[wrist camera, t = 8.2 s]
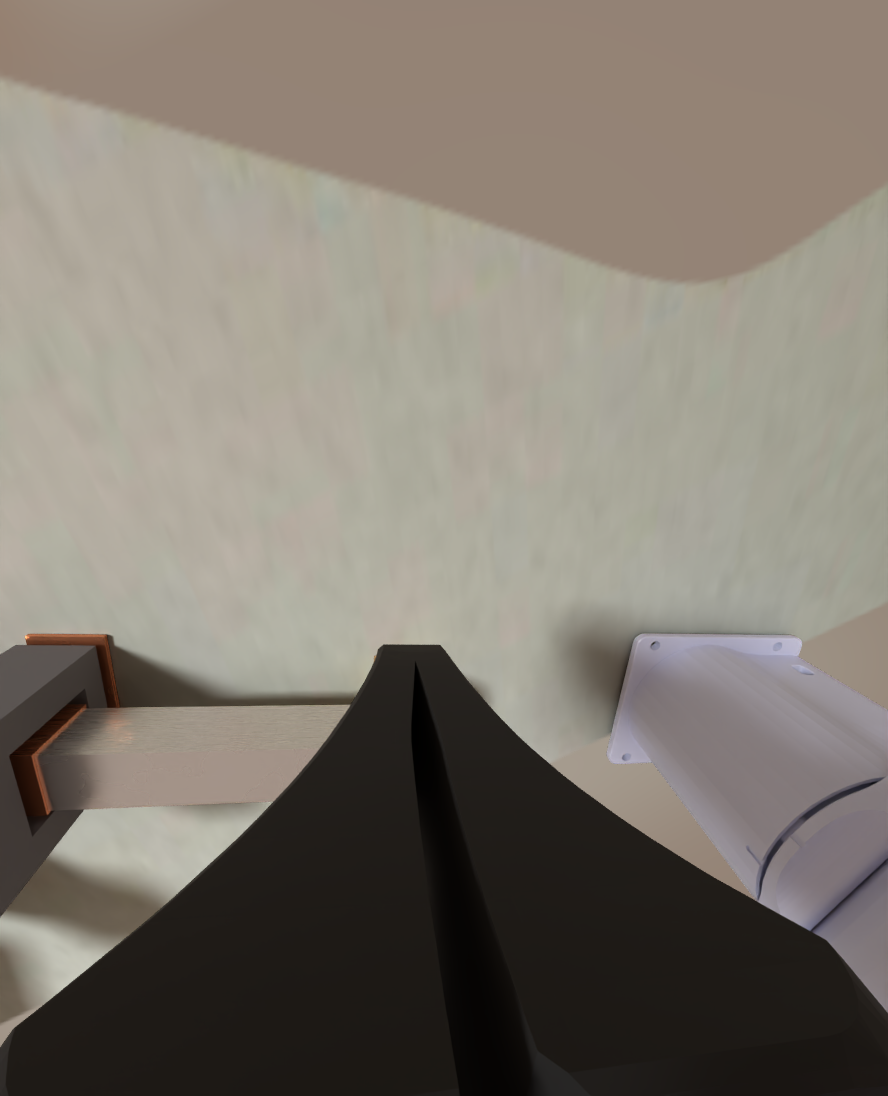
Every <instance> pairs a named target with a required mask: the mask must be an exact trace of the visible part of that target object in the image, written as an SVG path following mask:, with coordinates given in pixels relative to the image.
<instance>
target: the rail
mask: <svg viewBox="0 0 888 1096" xmlns="http://www.w3.org/2000/svg"><path fill="white" fill-rule="evenodd" d="M25 639H26V643H27V645H84V646H96V651H97V656H98V661H99V666H100V671H101V676H102V681H103V687H104V692H105V697H106V702H107V707H108V708H86V704H79V705H66V706H64V707H63V708H62V709H61V710H60V711H59V712H58V713H57V714H55V715H54V716H53V717H52V718H51V719H50V720H49V721H48V722H46V723H45V724H44V725H43V726H42V727H41V728H40V729H39V730H37V731H36V732H35V733H34V734H33V735H32V736H31V737H30V738H28V739H27V740H26V741H25V742H24V743H23V744H22V745H21V746H19V747H18V748H17V749H16V750H15V751H14V752H13V753H12V754H10V755H9V758H10V761H11V765H12V768H13V772H14V775H15V779H16V782H17V786H18V789H19V792H20V796H21V799H22V803H23V806H24V810H25V813H26V816H46V815H48V814H49V813H50V812H51V811H57V810H81V809H104V808H128V807H151V806H174V805H198V804H221V803H245V802H268V801H275V800H276V798H277V797H278V796H279V795H280V794H281V793H282V792H283V791H284V790H285V789H286V788H287V787H288V786H289V784H290V783H291V782H292V781H293V780H294V779H295V778H296V777H297V775H298V774H299V773H300V772H301V771H302V769H303V768H304V767H305V766H306V765H307V764H308V762H309V761H310V760H311V759H312V757H313V756H314V755H315V754H316V753H317V751H318V750H319V749H320V747H321V746H322V745H323V743H324V742H325V741H326V740H327V738H328V737H329V736H330V734H331V733H332V731H333V730H334V728H335V727H336V726H337V724H338V723H339V721H340V720H341V718H342V717H343V715H344V714H345V713H346V711H347V710H348V708H349V707H350V705H292V706H213V707H134V708H120V705H119V699H118V694H117V688H116V683H115V678H114V672H113V667H112V661H111V656H110V650H109V645H108V639H107V635H89V634H28V635H26V636H25ZM375 658H376V656H374V661H375Z"/></svg>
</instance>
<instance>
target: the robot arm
mask: <svg viewBox="0 0 888 1096" xmlns="http://www.w3.org/2000/svg"><path fill="white" fill-rule="evenodd" d="M655 641H656V642H655ZM653 642H655V644H654V645H652V646H651V644H652V643H653ZM801 647H802V641H801V640H800V639H799V638H797V637H796V636H793V635H741V634H654V633H644V634H640V635H638V636H637V637H636V638H635V639H634V642H633V645H632V649H631V654H630V658H629V662H628V666H627V670H626V674H625V678H624V683H623V687H622V691H621V695H620V699H619V703H618V708H617V712H616V716H615V720H614V724H613V728H612V732H611V737H610V741H609V745H608V750H607V757H608V759H609V760H610V762H611V763H614V764H628V763H653V764H654V765H655V767H656V768H657V769H658V771H659V772H660V773H661V775H662V776H663V777H664V779H665V780H666V781H667V783H668V784H669V785H670V787H671V788H672V789H673V791H674V792H675V793H676V795H677V796H678V797H679V799H680V800H681V801H682V803H683V804H684V805H685V806H686V808H687V809H688V811H689V812H690V813H691V815H692V816H693V817H694V819H695V820H696V821H697V823H698V824H699V825H700V827H701V828H702V829H703V830H704V832H705V833H706V835H707V836H708V837H709V839H710V840H711V841H712V842H713V844H714V845H715V847H716V848H717V849H718V851H719V852H720V853H721V855H722V856H723V857H724V859H725V860H726V861H727V863H728V864H729V865H730V867H731V868H732V869H733V871H734V872H735V873H736V875H737V876H738V877H739V879H740V880H741V881H742V883H743V884H744V885H745V887H746V888H747V889H748V891H749V892H750V893H751V895H752V896H753V897H754V899H755V900H756V901H755V900H753V899H752V898H750V897H748V896H746V895H744V894H743V893H741V892H739V891H737V890H735V889H733V888H732V887H730V886H728V885H726V884H725V883H723V882H721V881H719V880H717V879H716V878H714V877H712V876H711V875H709V874H707V873H706V872H704V871H702V870H701V869H699V868H697V867H696V866H694V865H693V864H691V863H689V862H688V861H686V860H684V859H683V858H681V857H680V856H678V855H676V854H675V853H673V852H672V851H670V850H669V849H667V848H665V847H664V846H662V845H661V844H659V843H657V842H656V841H654V840H653V839H651V838H649V837H648V836H647V835H645V834H644V833H642V832H641V831H639V830H638V829H636V828H635V827H633V826H631V825H630V824H628V823H627V822H626V821H624V820H623V819H621V818H620V817H618V816H617V815H616V814H614V813H613V812H612V811H610V810H609V809H607V808H606V807H605V806H603V805H602V804H601V803H599V802H598V801H596V800H595V799H594V798H592V797H591V796H590V795H588V794H587V793H585V792H584V791H583V790H581V789H580V788H578V787H577V786H576V785H575V784H574V783H572V782H571V781H570V780H568V779H567V778H566V777H565V776H563V775H562V774H561V773H560V772H558V771H557V770H556V769H555V768H554V767H553V766H552V765H550V764H549V763H548V762H547V761H546V760H544V759H543V758H542V757H541V756H540V755H539V754H537V753H536V752H535V751H534V750H533V749H532V748H530V747H529V746H528V745H527V744H526V743H525V742H524V741H523V740H522V739H521V738H520V737H519V736H518V735H517V734H516V733H515V732H514V731H513V730H512V729H511V728H510V727H509V726H508V725H507V724H506V723H505V722H504V721H503V720H502V719H501V718H500V717H499V716H498V715H497V714H496V713H495V712H494V711H493V709H492V708H491V707H490V706H489V705H488V704H487V703H486V702H485V700H484V699H483V698H482V697H481V696H480V695H479V693H478V692H477V691H476V690H475V689H474V688H473V686H472V685H471V684H470V683H469V681H468V680H467V679H466V678H465V676H464V675H463V674H462V673H461V671H460V670H459V669H458V667H457V666H456V665H455V663H454V662H453V661H452V659H451V658H450V657H449V655H448V654H447V653H446V651H445V650H444V649H443V648H442V647H441V645H383V646H381V647H380V648H379V649H378V652H377V656H376V658H375V661H374V663H373V666H372V668H371V670H370V672H369V674H368V676H367V678H366V680H365V682H364V683H363V685H362V687H361V688H360V690H359V692H358V693H357V695H356V697H355V699H354V700H353V702H352V704H351V705H350V707H349V708H348V710H347V711H346V713H345V714H344V715H343V717H342V718H341V720H340V721H339V723H338V724H337V726H336V727H335V728H334V730H333V731H332V733H331V734H330V736H329V737H328V738H327V740H326V741H325V742H324V743H323V745H322V746H321V747H320V749H319V750H318V751H317V753H316V754H315V755H314V756H313V757H312V759H311V760H310V761H309V762H308V764H307V765H306V766H305V767H304V768H303V769H302V771H301V772H300V773H299V774H298V775H297V777H296V778H295V779H294V780H293V781H292V782H291V783H290V784H289V786H288V787H287V788H286V789H285V790H284V791H283V792H282V793H281V794H280V795H279V796H278V797H277V798H276V800H275V801H274V802H273V803H272V804H271V805H270V806H269V807H268V808H267V809H266V810H265V811H264V812H263V813H262V815H261V816H260V817H259V818H258V819H257V820H256V821H255V822H254V823H253V824H252V825H251V826H250V827H249V828H248V829H247V830H246V831H245V832H244V833H243V834H242V835H241V836H240V837H239V838H238V839H237V840H236V841H234V842H233V843H232V844H231V845H230V846H229V847H228V848H227V849H226V850H225V851H224V852H222V853H221V854H220V855H219V856H218V857H217V858H216V859H215V860H214V861H213V862H212V863H210V864H209V865H208V866H207V867H206V868H205V869H204V870H203V871H202V872H201V873H200V874H199V875H197V876H196V877H195V878H194V879H193V880H192V881H191V882H190V883H189V884H188V885H187V886H185V887H184V888H183V889H182V890H181V891H180V892H179V893H178V894H177V895H176V896H175V897H174V898H172V899H171V900H170V901H169V902H168V903H167V904H166V905H164V906H163V907H162V908H161V909H160V910H159V911H157V912H156V913H155V914H154V915H153V916H152V917H151V918H149V919H148V920H147V921H146V922H145V923H143V924H142V925H141V926H140V927H138V928H137V929H136V930H135V931H134V932H132V933H131V934H130V935H129V936H127V937H126V938H125V939H124V940H123V941H121V942H120V943H119V944H118V945H116V946H115V947H114V948H113V949H112V950H110V951H109V952H108V953H107V954H105V955H104V956H103V957H102V958H101V959H99V960H98V961H97V962H96V963H94V964H93V965H92V966H91V967H90V968H88V969H87V970H86V971H85V972H83V973H82V974H81V975H80V976H79V977H77V978H76V979H75V980H74V981H72V982H71V983H70V984H69V985H67V986H66V987H65V988H64V989H63V990H61V991H60V992H59V993H58V994H56V995H55V996H54V997H53V998H52V999H50V1000H49V1001H48V1002H47V1003H45V1004H44V1005H43V1006H42V1007H40V1008H39V1009H38V1010H37V1011H35V1012H34V1013H33V1014H31V1015H30V1016H29V1017H28V1018H26V1019H25V1020H24V1021H23V1022H21V1023H20V1024H19V1025H17V1026H16V1027H15V1028H14V1029H13V1030H12V1032H11V1033H10V1034H9V1036H8V1037H7V1039H6V1040H5V1041H4V1043H3V1044H2V1046H1V1047H0V1096H888V710H887V709H885V708H884V707H882V706H881V705H879V704H877V703H875V702H874V701H872V700H870V699H869V698H867V697H865V696H864V695H862V694H860V693H859V692H857V691H855V690H854V689H852V688H850V687H849V686H847V685H845V684H844V683H842V682H840V681H838V680H837V679H835V678H833V677H832V676H830V675H828V674H827V673H825V672H823V671H822V670H820V669H818V668H817V667H815V666H813V665H812V664H810V663H808V662H806V661H805V660H803V659H802V658H800V657H798V655H799V652H800V650H801ZM624 754H625V755H624Z"/></svg>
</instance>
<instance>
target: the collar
mask: <svg viewBox="0 0 888 1096" xmlns="http://www.w3.org/2000/svg"><path fill="white" fill-rule="evenodd" d="M79 704H86V708H108V707H107V702H106V697H105V692H104V687H103V681H102V676H101V671H100V666H99V661H98V656H97V651H96V646H84V645H15V646H14V647H12V648H10V649H9V650H7V651H6V652H4V653H2V654H1V655H0V917H1V915H2V914H3V913H4V912H5V910H6V909H7V908H8V906H9V905H10V904H11V903H12V901H13V900H14V899H15V897H16V896H17V895H18V894H19V892H20V891H21V890H22V888H23V887H24V886H25V885H26V883H27V882H28V881H29V880H30V878H31V877H32V876H33V874H34V873H35V872H36V871H37V869H38V868H39V867H40V865H41V864H42V863H43V862H44V860H45V859H46V858H47V856H48V855H49V854H50V853H51V851H52V850H53V849H54V847H55V846H56V845H57V844H58V842H59V841H60V840H61V839H62V837H63V836H64V835H65V833H66V832H67V831H68V830H69V828H70V827H71V826H72V824H73V823H74V822H75V821H76V819H77V818H78V817H79V815H80V814H81V813H82V812H83V810H84V809H81V810H57V811H51V812H50V813H49V814H48V815H46V816H26V813H25V810H24V806H23V803H22V799H21V796H20V792H19V789H18V786H17V782H16V779H15V775H14V772H13V768H12V765H11V761H10V758H9V755H10V754H12V753H13V752H14V751H15V750H16V749H17V748H18V747H19V746H21V745H22V744H23V743H24V742H25V741H26V740H27V739H28V738H30V737H31V736H32V735H33V734H34V733H35V732H36V731H37V730H39V729H40V728H41V727H42V726H43V725H44V724H45V723H46V722H48V721H49V720H50V719H51V718H52V717H53V716H54V715H55V714H57V713H58V712H59V711H60V710H61V709H62V708H63V707H64V706H66V705H79Z"/></svg>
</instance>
